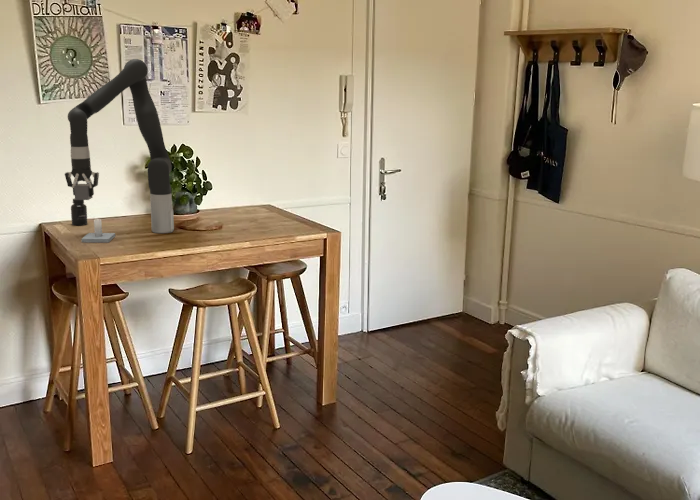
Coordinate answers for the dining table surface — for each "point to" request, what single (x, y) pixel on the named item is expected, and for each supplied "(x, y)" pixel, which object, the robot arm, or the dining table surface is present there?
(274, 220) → the dining table surface
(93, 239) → the post base
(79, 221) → the supplement bottle
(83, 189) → the block
